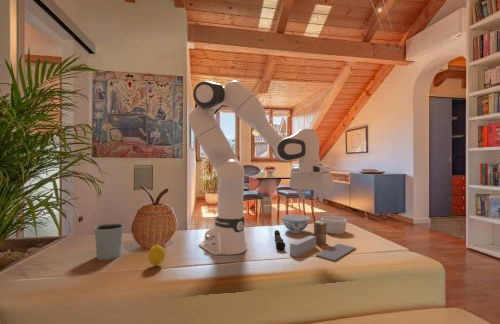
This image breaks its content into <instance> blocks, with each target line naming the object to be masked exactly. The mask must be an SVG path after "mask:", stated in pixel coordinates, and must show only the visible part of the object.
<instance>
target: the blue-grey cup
mask: <svg viewBox="0 0 500 324" xmlns="http://www.w3.org/2000/svg"><path fill="white" fill-rule="evenodd" d="M123 231H124V224H122V223H106V224H104V223H103V224H100V225H96V226H95V227H94V239H95V250H96V251H95V254H96V260H98V261H109V260H114V259H117V258H119V257H120V256H121V253H122V242H123V241H122V240H123V239H122V238H123Z"/></svg>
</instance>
